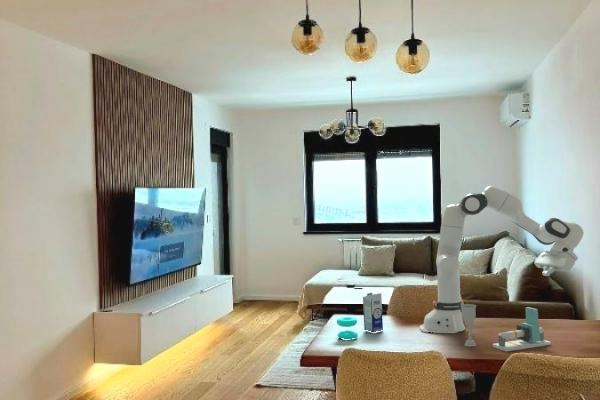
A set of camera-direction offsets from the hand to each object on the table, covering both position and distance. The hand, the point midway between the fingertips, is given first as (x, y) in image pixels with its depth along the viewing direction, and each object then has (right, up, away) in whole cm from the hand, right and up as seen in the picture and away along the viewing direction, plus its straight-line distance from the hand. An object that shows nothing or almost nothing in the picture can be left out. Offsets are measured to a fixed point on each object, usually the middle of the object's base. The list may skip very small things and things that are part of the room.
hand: (545, 275), depth 261 cm
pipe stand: (-17, -30, -14) cm, 37 cm away
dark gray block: (-16, -27, -14) cm, 34 cm away
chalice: (-38, -31, -10) cm, 50 cm away
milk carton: (-78, -33, +23) cm, 87 cm away
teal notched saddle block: (-12, -27, -13) cm, 32 cm away
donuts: (-92, -33, +12) cm, 99 cm away
